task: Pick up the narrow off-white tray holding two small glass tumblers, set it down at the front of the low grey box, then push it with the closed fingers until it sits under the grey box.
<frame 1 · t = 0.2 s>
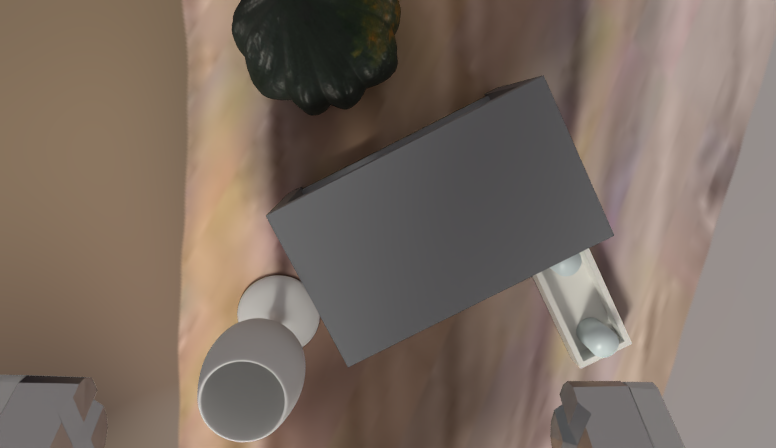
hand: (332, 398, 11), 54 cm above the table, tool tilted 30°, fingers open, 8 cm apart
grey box: (422, 201, 65), on the table
squash: (321, 41, 62), on the table
wineglass: (279, 314, 66), on the table
tray: (569, 290, 67), on the table
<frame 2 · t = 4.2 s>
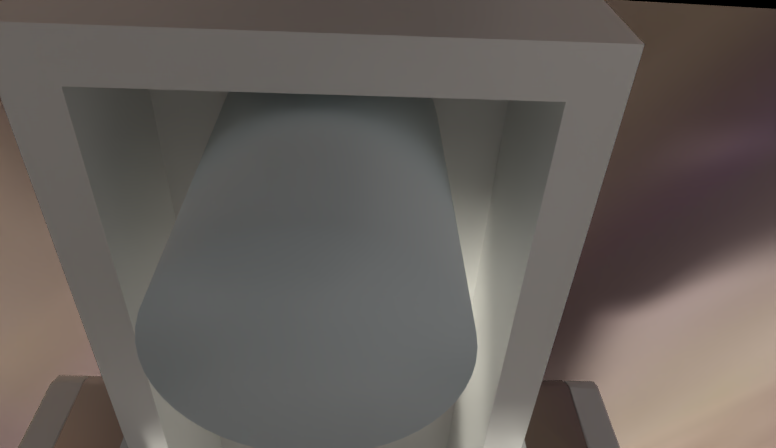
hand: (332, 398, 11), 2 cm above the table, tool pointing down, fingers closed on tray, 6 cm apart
tray: (336, 330, 12), on the table, touching gripper
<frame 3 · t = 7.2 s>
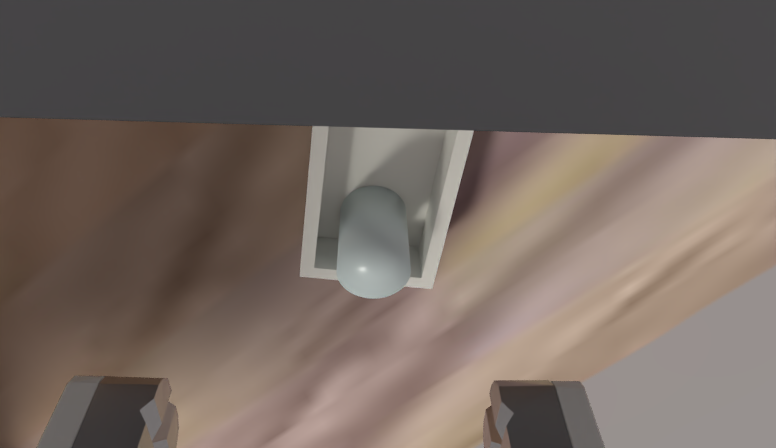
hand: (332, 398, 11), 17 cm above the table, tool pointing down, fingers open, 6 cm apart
tray: (388, 110, 26), on the table
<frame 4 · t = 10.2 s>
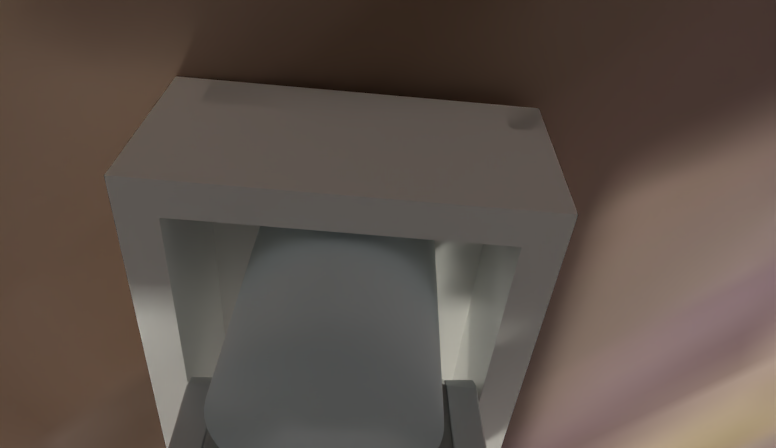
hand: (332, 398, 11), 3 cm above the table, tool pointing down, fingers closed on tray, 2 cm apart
tray: (342, 372, 15), on the table, touching gripper
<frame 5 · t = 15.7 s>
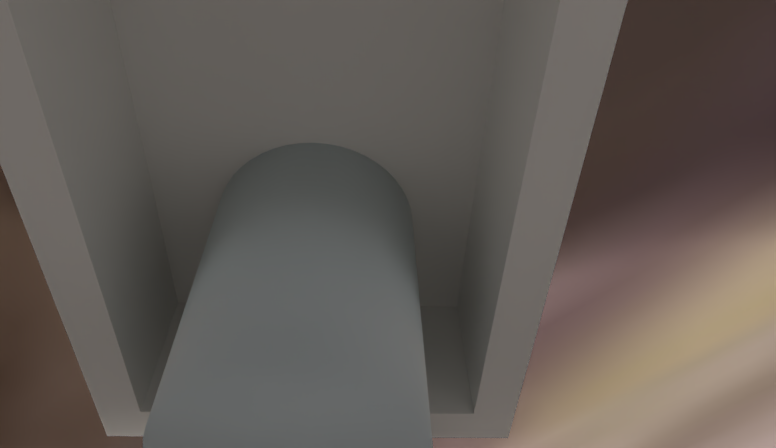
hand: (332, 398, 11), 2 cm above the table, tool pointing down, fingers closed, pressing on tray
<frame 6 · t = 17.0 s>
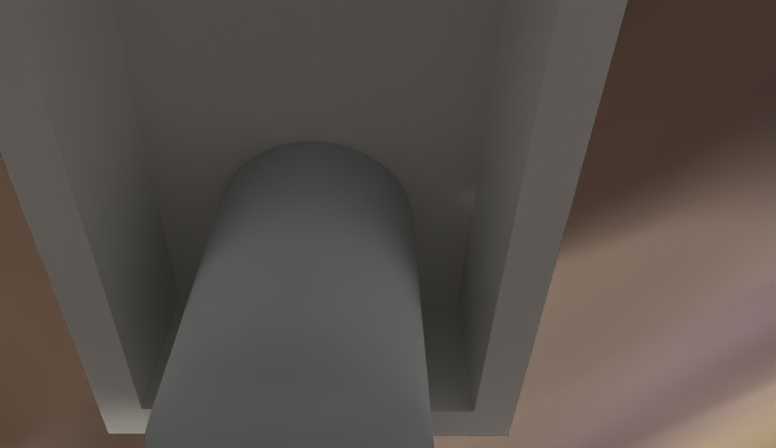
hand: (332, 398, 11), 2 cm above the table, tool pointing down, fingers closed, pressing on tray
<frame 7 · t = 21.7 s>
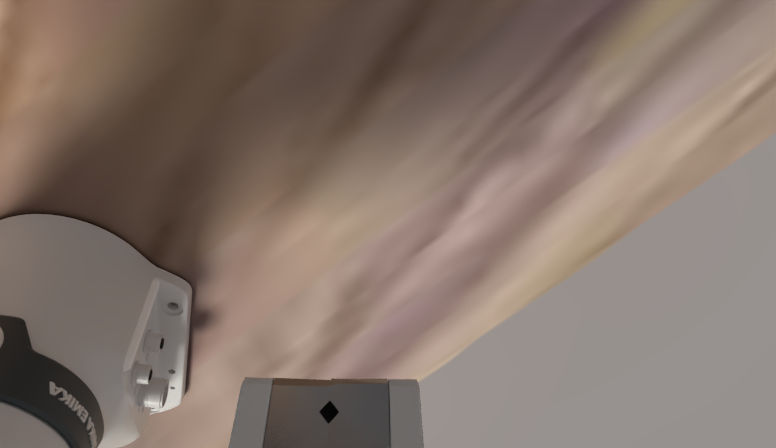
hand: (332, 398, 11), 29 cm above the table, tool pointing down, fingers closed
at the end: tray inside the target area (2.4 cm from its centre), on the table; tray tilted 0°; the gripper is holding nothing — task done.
